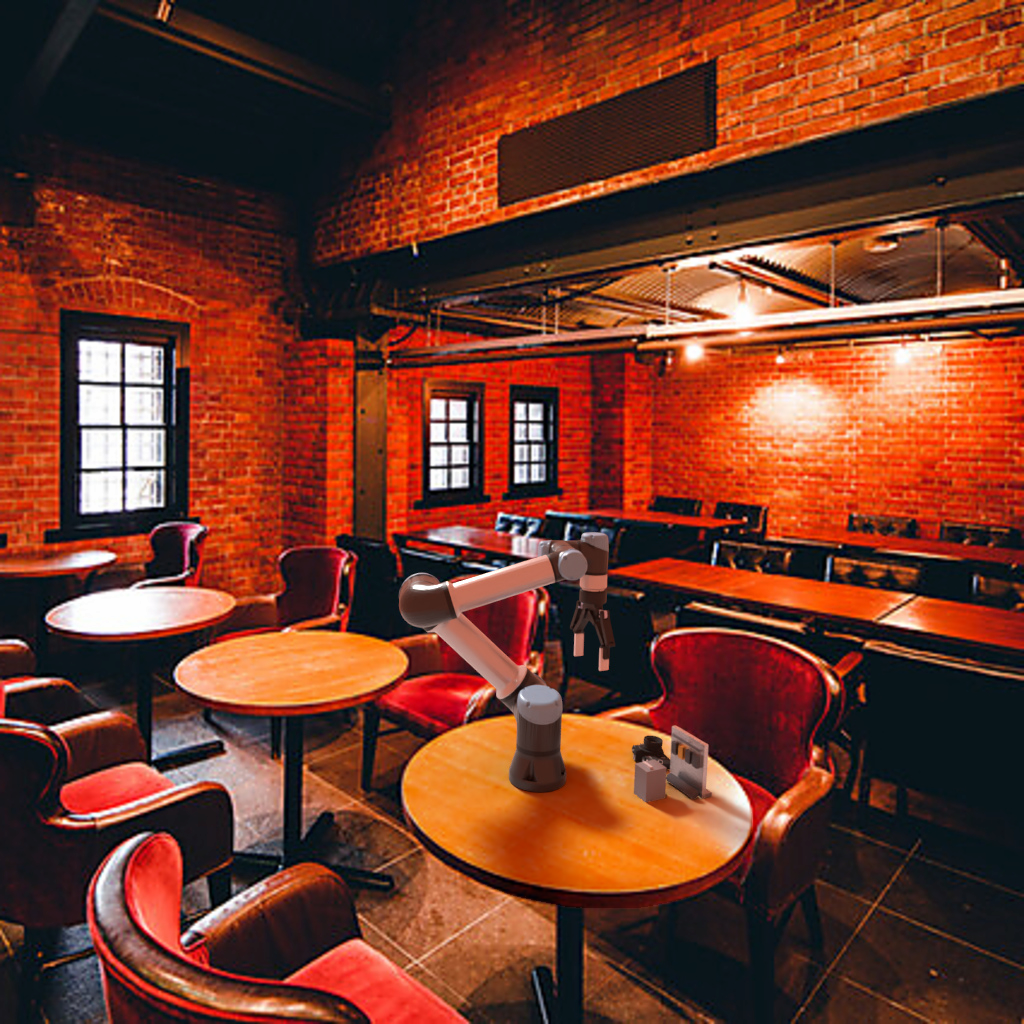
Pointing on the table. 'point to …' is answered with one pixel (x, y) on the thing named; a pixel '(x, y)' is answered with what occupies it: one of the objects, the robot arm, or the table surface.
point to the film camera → (651, 751)
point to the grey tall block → (650, 780)
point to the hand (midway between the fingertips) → (590, 662)
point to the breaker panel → (689, 760)
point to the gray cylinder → (682, 786)
